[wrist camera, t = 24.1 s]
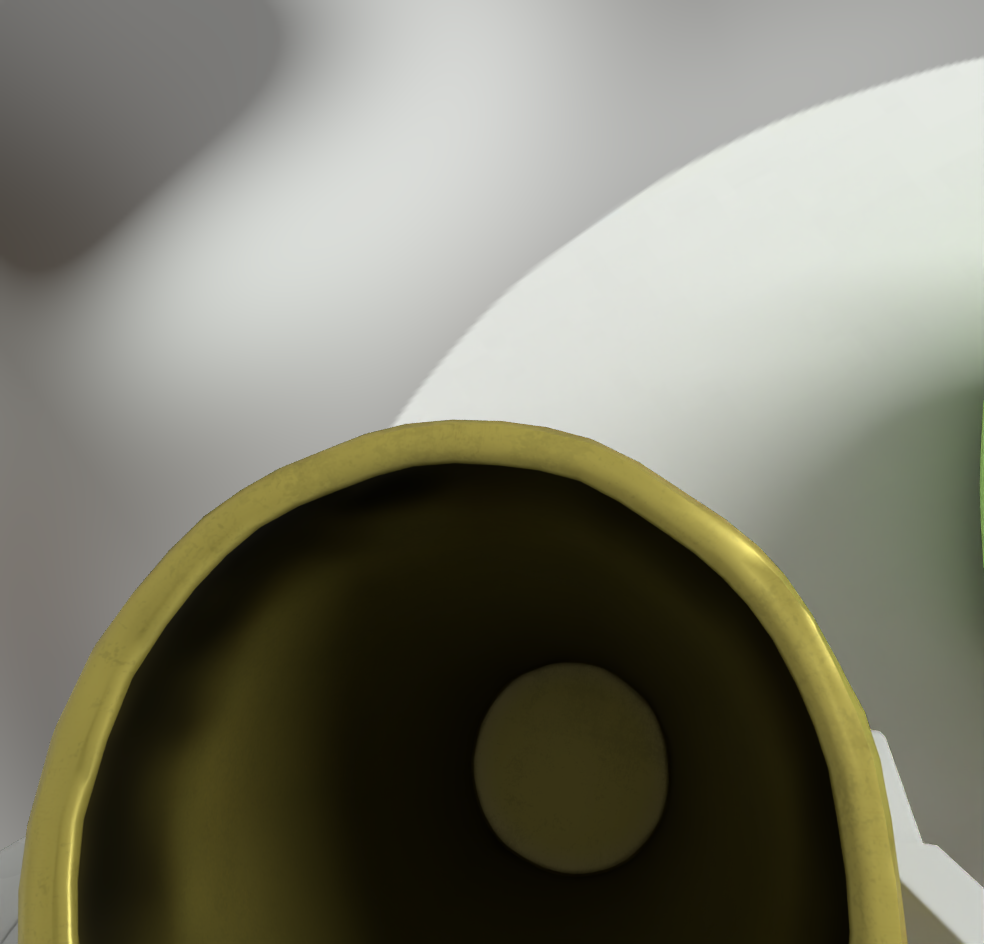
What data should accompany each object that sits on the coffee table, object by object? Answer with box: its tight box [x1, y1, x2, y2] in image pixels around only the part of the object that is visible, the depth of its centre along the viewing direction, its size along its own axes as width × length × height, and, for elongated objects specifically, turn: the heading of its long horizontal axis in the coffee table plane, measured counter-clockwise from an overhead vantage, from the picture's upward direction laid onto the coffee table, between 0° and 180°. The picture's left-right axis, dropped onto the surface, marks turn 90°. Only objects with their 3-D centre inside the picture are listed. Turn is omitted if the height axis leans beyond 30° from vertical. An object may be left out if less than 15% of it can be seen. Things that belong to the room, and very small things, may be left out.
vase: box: [18, 420, 908, 944], centre depth 11 cm, size 6×6×14 cm
